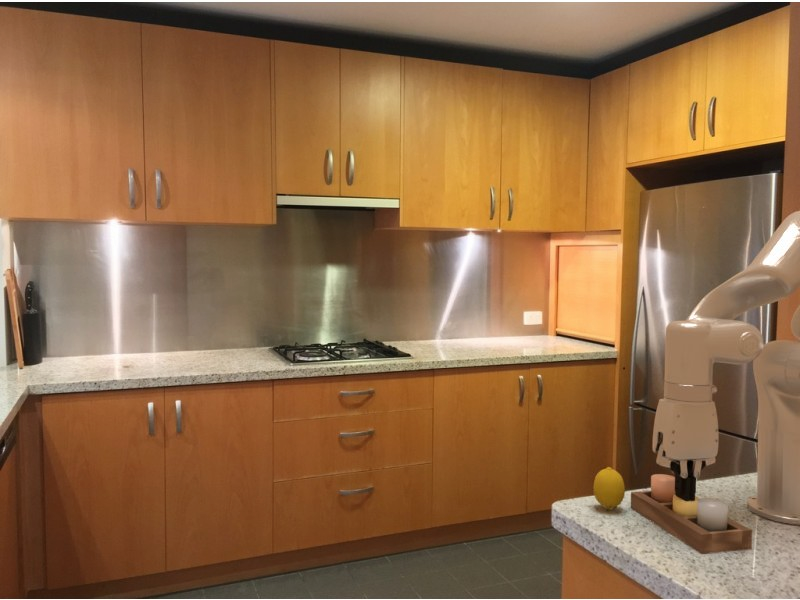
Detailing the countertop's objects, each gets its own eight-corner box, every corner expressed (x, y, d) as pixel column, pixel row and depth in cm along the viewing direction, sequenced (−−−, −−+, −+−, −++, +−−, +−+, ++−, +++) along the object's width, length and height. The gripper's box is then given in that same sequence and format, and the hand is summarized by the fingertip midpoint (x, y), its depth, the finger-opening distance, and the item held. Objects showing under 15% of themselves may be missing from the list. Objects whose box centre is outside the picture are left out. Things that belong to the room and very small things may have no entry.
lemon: (626, 516, 115) (627, 472, 114) (594, 514, 116) (595, 470, 116) (622, 505, 120) (622, 463, 120) (591, 503, 121) (592, 462, 121)
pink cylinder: (667, 496, 119) (667, 473, 119) (682, 505, 115) (682, 480, 114) (646, 498, 118) (646, 474, 118) (660, 506, 114) (660, 482, 114)
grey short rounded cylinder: (714, 523, 106) (715, 497, 106) (733, 533, 102) (733, 506, 102) (691, 525, 105) (691, 499, 105) (709, 535, 101) (709, 508, 101)
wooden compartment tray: (673, 504, 121) (674, 488, 121) (751, 548, 101) (752, 530, 101) (630, 507, 119) (630, 492, 119) (701, 553, 99) (701, 534, 99)
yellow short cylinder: (689, 517, 113) (689, 493, 112) (706, 527, 108) (706, 501, 108) (667, 519, 112) (667, 494, 112) (683, 529, 107) (683, 503, 107)
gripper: (711, 388, 114) (708, 489, 115) (636, 390, 111) (633, 493, 112) (741, 395, 107) (738, 503, 108) (661, 398, 104) (659, 508, 105)
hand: (684, 498), depth 110 cm, fingers closed
